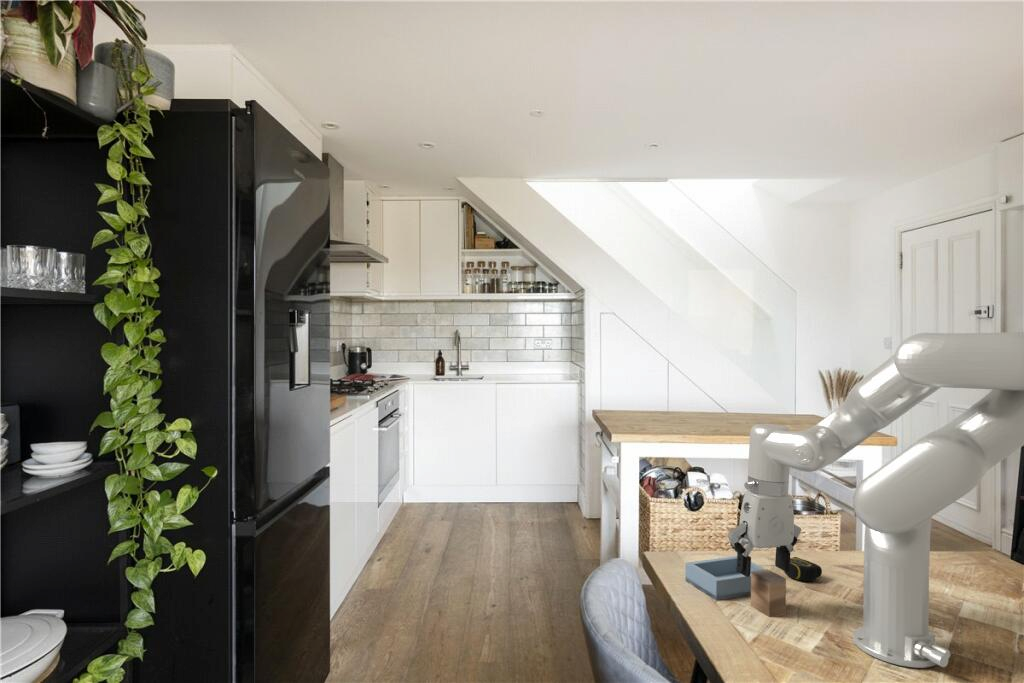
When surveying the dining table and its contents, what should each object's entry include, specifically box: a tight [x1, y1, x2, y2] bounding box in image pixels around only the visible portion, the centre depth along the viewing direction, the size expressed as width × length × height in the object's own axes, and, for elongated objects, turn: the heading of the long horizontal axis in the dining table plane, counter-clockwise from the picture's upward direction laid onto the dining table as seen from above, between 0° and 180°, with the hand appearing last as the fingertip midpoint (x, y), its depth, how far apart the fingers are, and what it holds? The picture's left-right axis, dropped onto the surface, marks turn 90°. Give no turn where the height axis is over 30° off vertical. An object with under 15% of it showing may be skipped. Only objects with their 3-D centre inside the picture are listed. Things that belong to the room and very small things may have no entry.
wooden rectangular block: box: [750, 568, 787, 618], centre depth 117 cm, size 5×4×7 cm
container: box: [685, 555, 766, 601], centre depth 128 cm, size 10×14×4 cm
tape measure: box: [784, 556, 823, 582], centre depth 134 cm, size 7×7×4 cm
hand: (762, 571), depth 118 cm, fingers open, 9 cm apart
